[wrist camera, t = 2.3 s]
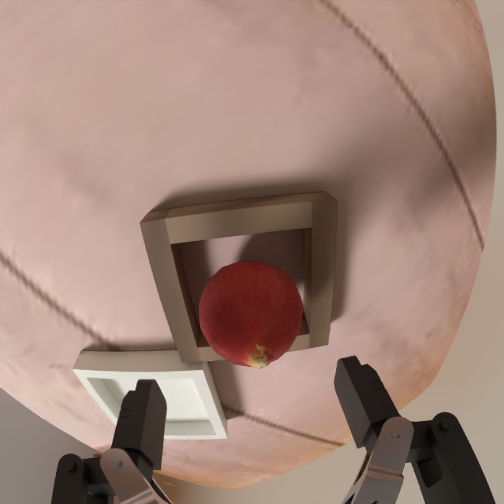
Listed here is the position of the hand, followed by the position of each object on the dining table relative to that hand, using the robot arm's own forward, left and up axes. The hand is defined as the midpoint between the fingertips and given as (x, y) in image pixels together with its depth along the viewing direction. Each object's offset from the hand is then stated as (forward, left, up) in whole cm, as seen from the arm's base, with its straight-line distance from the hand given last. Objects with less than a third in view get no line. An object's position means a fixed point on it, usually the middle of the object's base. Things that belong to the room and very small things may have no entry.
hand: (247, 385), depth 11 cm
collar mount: (-1, 0, -9) cm, 9 cm away
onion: (-1, 0, -9) cm, 9 cm away
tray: (+9, +12, -9) cm, 18 cm away
